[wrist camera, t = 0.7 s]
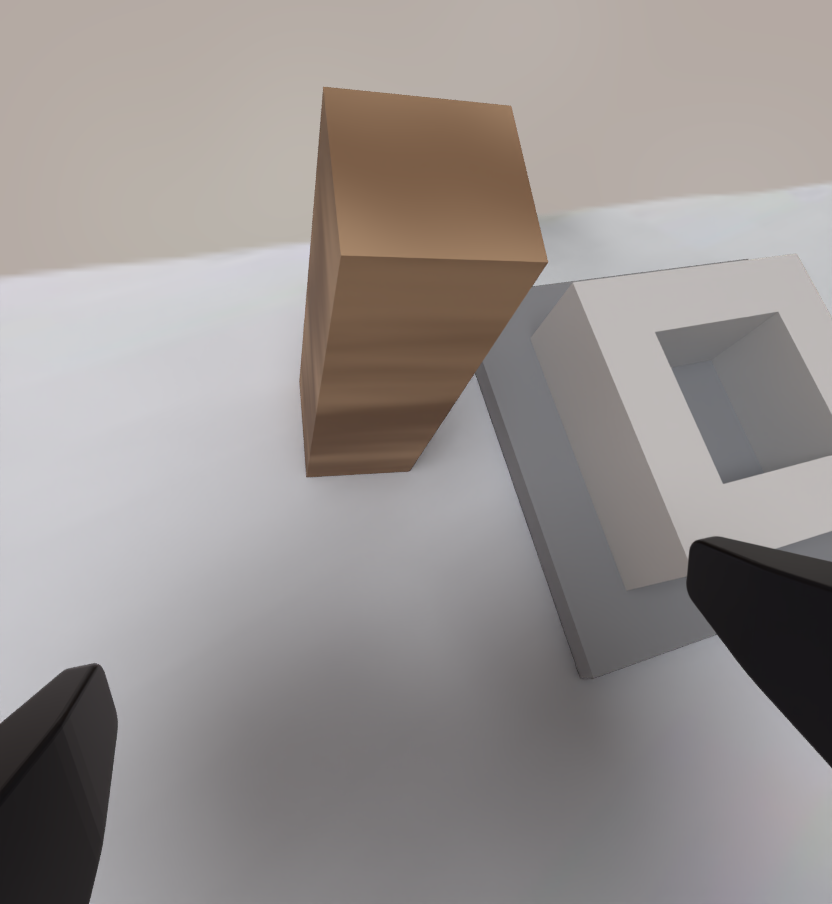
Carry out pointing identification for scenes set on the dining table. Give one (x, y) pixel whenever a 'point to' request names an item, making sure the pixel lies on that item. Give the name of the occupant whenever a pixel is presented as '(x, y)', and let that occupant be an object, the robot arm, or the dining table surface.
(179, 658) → the dining table surface
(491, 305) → the walnut peg
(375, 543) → the dining table surface
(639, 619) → the socket board
